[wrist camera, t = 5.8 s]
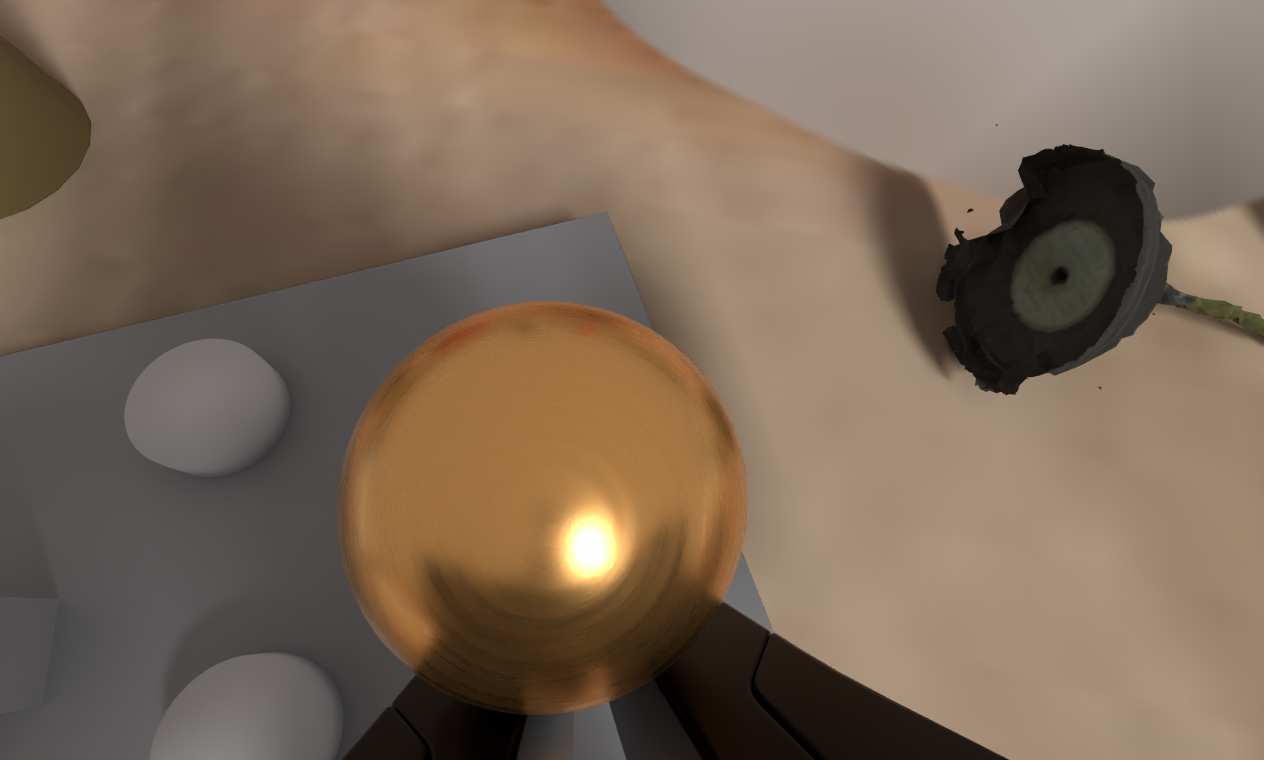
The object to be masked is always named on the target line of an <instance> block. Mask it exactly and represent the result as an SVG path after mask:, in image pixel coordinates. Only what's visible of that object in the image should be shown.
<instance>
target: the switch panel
mask: <svg viewBox="0 0 1264 760" xmlns="http://www.w3.org/2000/svg"><path fill="white" fill-rule="evenodd" d="M531 301H562V302H573V303H581V304H586V305H590V306H595V307H599V308H603V309H606V310H609V311H612V312H615V313H617V314H620V315H623V316H626V317H628V318H630V319H632V320H634V321H636V322H638V323H640V324H642V325H644V326H646V327H648V328H650V329H652V330H653V331H654V329H653V327H652V324H651V322H650V319H649V317H648V314H647V312H646V309H645V307H644V304H643V302H642V299H641V297H640V294H639V292H638V289H637V287H636V284H635V281H634V279H633V276H632V274H631V271H630V269H629V266H628V264H627V261H626V259H625V256H624V254H623V251H622V249H621V246H620V244H619V241H618V239H617V236H616V234H615V231H614V229H613V226H612V224H611V221H610V219H609V216H608V214H607V212H604V213H600V214H596V215H592V216H588V217H583V218H579V219H575V220H571V221H567V222H562V223H558V224H554V225H550V226H546V227H541V228H537V229H533V230H529V231H525V232H520V233H516V234H512V235H508V236H504V237H499V238H495V239H491V240H487V241H483V242H478V243H474V244H470V245H466V246H462V247H457V248H453V249H449V250H445V251H441V252H436V253H432V254H428V255H424V256H420V257H415V258H411V259H407V260H403V261H399V262H394V263H390V264H386V265H382V266H378V267H373V268H369V269H365V270H361V271H357V272H352V273H348V274H344V275H340V276H336V277H331V278H327V279H323V280H319V281H315V282H310V283H306V284H302V285H298V286H294V287H289V288H285V289H281V290H277V291H273V292H268V293H264V294H260V295H256V296H252V297H247V298H243V299H239V300H235V301H231V302H226V303H222V304H218V305H214V306H210V307H205V308H201V309H197V310H193V311H189V312H184V313H180V314H176V315H172V316H168V317H163V318H159V319H155V320H151V321H147V322H142V323H138V324H134V325H130V326H126V327H121V328H117V329H113V330H109V331H105V332H100V333H96V334H92V335H88V336H84V337H79V338H75V339H71V340H67V341H63V342H58V343H54V344H50V345H46V346H42V347H37V348H33V349H29V350H25V351H21V352H16V353H12V354H8V355H4V356H0V760H341V759H342V758H343V756H344V755H345V754H346V753H347V752H348V751H349V750H350V749H351V748H352V746H353V745H354V744H355V743H356V742H357V741H358V740H359V739H360V738H361V736H362V735H363V734H364V733H365V732H366V731H367V730H368V728H369V727H370V726H371V725H372V724H373V723H374V721H375V720H376V719H377V718H378V717H379V715H380V714H381V713H382V712H383V711H384V710H385V708H387V707H389V706H391V704H392V702H393V701H394V700H395V698H396V697H397V696H398V695H399V694H400V693H401V691H402V690H403V689H404V688H405V687H406V685H407V684H408V683H409V682H410V681H411V680H412V678H413V677H414V676H415V674H414V673H413V672H412V671H411V670H409V669H408V668H407V667H406V666H405V665H403V664H402V663H401V662H400V661H399V660H398V659H397V658H396V657H395V656H394V655H393V654H392V653H391V652H390V650H389V649H388V648H387V647H386V646H385V645H384V644H383V643H382V642H381V641H380V639H379V638H378V636H377V635H376V634H375V632H374V631H373V629H372V628H371V626H370V625H369V623H368V622H367V620H366V619H365V617H364V615H363V613H362V611H361V609H360V607H359V605H358V603H357V601H356V599H355V597H354V595H353V593H352V591H351V587H350V584H349V581H348V578H347V575H346V572H345V569H344V566H343V561H342V556H341V550H340V544H339V539H338V518H337V501H338V491H339V480H340V475H341V470H342V466H343V462H344V458H345V454H346V450H347V447H348V444H349V442H350V439H351V437H352V434H353V431H354V429H355V426H356V424H357V422H358V420H359V418H360V416H361V415H362V413H363V411H364V409H365V407H366V405H367V404H368V402H369V400H370V398H371V397H372V396H373V394H374V393H375V392H376V390H377V389H378V387H379V386H380V385H381V383H382V382H383V381H384V379H385V378H386V377H387V376H388V375H389V373H390V372H391V371H392V370H393V369H394V368H395V367H396V366H397V365H398V364H399V363H400V362H401V361H402V360H403V359H404V358H405V357H406V356H407V355H408V354H409V353H411V352H412V351H413V350H414V349H416V348H417V347H418V346H419V345H421V344H422V343H423V342H424V341H426V340H427V339H428V338H430V337H432V336H433V335H435V334H437V333H438V332H440V331H441V330H443V329H445V328H446V327H448V326H449V325H452V324H454V323H456V322H458V321H460V320H463V319H465V318H467V317H469V316H472V315H474V314H477V313H480V312H483V311H486V310H490V309H493V308H496V307H500V306H504V305H510V304H516V303H522V302H531ZM723 601H724V602H725V603H727V604H729V605H730V606H732V607H733V608H735V609H736V610H738V611H740V612H741V613H743V614H744V615H746V616H747V617H749V618H751V619H752V620H754V621H755V622H757V623H758V624H760V625H762V626H763V627H765V628H766V629H768V630H769V631H770V632H771V634H772V633H774V631H773V629H772V626H771V624H770V621H769V619H768V616H767V614H766V611H765V609H764V606H763V604H762V601H761V599H760V596H759V593H758V591H757V588H756V586H755V583H754V581H753V578H752V576H751V573H750V571H749V568H748V566H747V563H746V561H745V558H744V556H743V553H742V552H741V556H740V559H739V562H738V566H737V569H736V572H735V575H734V578H733V581H732V583H731V585H730V587H729V589H728V592H727V594H726V596H725V598H724V600H723ZM573 760H626V758H625V754H624V751H623V748H622V744H621V741H620V738H619V734H618V731H617V728H616V724H615V721H614V718H613V714H612V711H611V708H610V704H609V702H607V703H605V704H602V705H599V706H595V707H591V708H587V709H583V710H580V711H576V712H574V733H573Z"/></svg>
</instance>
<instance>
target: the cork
mask: <svg viewBox="0 0 1264 760" xmlns="http://www.w3.org/2000/svg"><path fill="white" fill-rule="evenodd" d="M90 126H91V122H90V120H89V117H88V115H87V113H86V111H85V109H84V106H83V104H82V102H80V101H79V100H78V99H77V98H76V97H75V96H73V95H72V94H71V93H70V92H69V91H67V90H66V89H65V88H64V87H63V86H62V85H60V84H59V83H58V82H57V81H55V80H54V79H53V78H52V77H51V76H49V75H48V74H47V73H46V72H45V71H43V70H42V69H41V68H40V67H38V66H37V65H36V64H35V63H34V62H32V61H31V60H30V59H29V58H28V57H26V56H25V55H24V54H23V53H21V52H20V51H19V50H18V49H17V48H15V47H14V46H13V45H12V44H11V43H9V42H8V41H7V40H6V39H4V38H3V37H2V36H1V35H0V219H1V218H4V217H6V216H9V215H12V214H15V213H17V212H20V211H23V210H25V209H28V208H30V207H31V206H33V205H34V204H36V203H37V202H39V201H41V200H42V199H44V198H45V197H47V196H48V195H50V194H52V193H53V192H55V191H56V190H58V189H59V188H60V186H61V185H62V184H63V183H64V182H65V181H66V180H67V179H68V178H69V177H70V176H71V175H72V174H73V173H74V172H75V171H76V170H77V169H78V167H79V165H80V163H81V161H82V159H83V157H84V155H85V153H86V151H87V149H88V147H89V145H90Z"/></svg>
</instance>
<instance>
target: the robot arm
mask: <svg viewBox="0 0 1264 760" xmlns="http://www.w3.org/2000/svg"><path fill="white" fill-rule="evenodd" d="M609 704H610V708H611V711H612V714H613V718H614V721H615V724H616V728H617V731H618V734H619V738H620V741H621V744H622V748H623V751H624V754H625V758H626V760H1009V759H1007V758H1005V757H1003V756H1001V755H999V754H997V753H995V752H993V751H991V750H989V749H987V748H985V747H983V746H981V745H979V744H977V743H975V742H973V741H971V740H969V739H967V738H965V737H963V736H961V735H959V734H958V733H956V732H954V731H952V730H950V729H948V728H946V727H944V726H942V725H940V724H938V723H936V722H934V721H932V720H930V719H928V718H926V717H924V716H922V715H920V714H918V713H916V712H914V711H912V710H910V709H908V708H906V707H904V706H902V705H900V704H899V703H897V702H895V701H893V700H891V699H889V698H887V697H885V696H883V695H881V694H879V693H878V692H876V691H874V690H872V689H870V688H868V687H866V686H864V685H863V684H861V683H859V682H857V681H855V680H853V679H851V678H849V677H848V676H846V675H844V674H842V673H840V672H838V671H837V670H835V669H833V668H832V667H830V666H828V665H827V664H825V663H823V662H822V661H820V660H818V659H817V658H815V657H813V656H811V655H810V654H808V653H806V652H805V651H803V650H801V649H800V648H798V647H797V646H795V645H793V644H792V643H790V642H789V641H787V640H786V639H784V638H782V637H781V636H779V635H778V634H776V633H772V634H771V632H770V631H769V630H768V629H766V628H765V627H763V626H762V625H760V624H758V623H757V622H755V621H754V620H752V619H751V618H749V617H747V616H746V615H744V614H743V613H741V612H740V611H738V610H736V609H735V608H733V607H732V606H730V605H729V604H727V603H725V602H724V601H723V603H722V604H721V606H720V607H719V609H718V611H717V612H716V614H715V616H714V617H713V619H712V621H711V622H710V624H709V625H708V627H707V628H706V629H705V630H704V632H703V633H702V634H701V635H700V637H699V638H698V639H697V640H696V642H695V643H694V644H693V645H692V646H691V647H690V648H689V649H688V650H687V651H686V652H685V653H684V654H683V655H682V656H681V657H680V658H679V659H678V660H677V661H676V662H675V663H674V664H673V665H672V666H670V667H669V668H668V669H666V670H665V671H664V672H662V673H661V674H660V675H658V676H657V677H656V678H654V679H653V680H652V681H650V682H648V683H646V684H645V685H643V686H641V687H639V688H638V689H636V690H634V691H632V692H631V693H629V694H627V695H624V696H622V697H619V698H617V699H615V700H612V701H610V702H609ZM573 733H574V712H568V713H560V714H552V715H520V714H513V713H506V712H499V711H493V710H490V709H486V708H482V707H479V706H475V705H472V704H468V703H466V702H464V701H461V700H459V699H457V698H455V697H452V696H450V695H448V694H446V693H443V692H442V691H440V690H438V689H437V688H435V687H434V686H432V685H430V684H429V683H427V682H425V681H424V680H422V679H421V678H419V677H418V676H417V675H415V676H414V677H413V678H412V680H411V681H410V682H409V683H408V684H407V685H406V687H405V688H404V689H403V690H402V691H401V693H400V694H399V695H398V696H397V697H396V698H395V700H394V701H393V702H392V704H391V706H389V707H387V708H385V710H384V711H383V712H382V713H381V714H380V715H379V717H378V718H377V719H376V720H375V721H374V723H373V724H372V725H371V726H370V727H369V728H368V730H367V731H366V732H365V733H364V734H363V735H362V736H361V738H360V739H359V740H358V741H357V742H356V743H355V744H354V745H353V746H352V748H351V749H350V750H349V751H348V752H347V753H346V754H345V755H344V756H343V758H342V759H341V760H573Z"/></svg>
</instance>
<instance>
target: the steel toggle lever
mask: <svg viewBox="0 0 1264 760" xmlns="http://www.w3.org/2000/svg"><path fill="white" fill-rule="evenodd" d="M746 517H747V486H746V473H745V468H744V463H743V458H742V453H741V448H740V445H739V442H738V439H737V436H736V433H735V430H734V427H733V424H732V422H731V420H730V418H729V416H728V414H727V412H726V410H725V408H724V406H723V404H722V402H721V400H720V398H719V397H718V395H717V394H716V392H715V391H714V389H713V388H712V386H711V385H710V383H709V382H708V380H707V379H706V378H705V377H704V375H703V374H702V373H701V372H700V371H699V370H698V368H697V367H696V366H695V365H694V364H693V363H692V361H691V360H690V359H689V358H687V357H686V356H685V355H684V354H683V353H682V352H681V351H680V350H679V349H677V348H676V347H675V346H674V345H673V344H672V343H670V342H669V341H667V340H666V339H665V338H663V337H662V336H660V335H659V334H657V333H656V332H654V331H653V330H652V329H650V328H648V327H646V326H644V325H642V324H640V323H638V322H636V321H634V320H632V319H630V318H628V317H626V316H623V315H620V314H617V313H615V312H612V311H609V310H606V309H603V308H599V307H595V306H590V305H586V304H581V303H573V302H562V301H531V302H522V303H516V304H510V305H504V306H500V307H496V308H493V309H490V310H486V311H483V312H480V313H477V314H474V315H472V316H469V317H467V318H465V319H463V320H460V321H458V322H456V323H454V324H452V325H449V326H448V327H446V328H445V329H443V330H441V331H440V332H438V333H437V334H435V335H433V336H432V337H430V338H428V339H427V340H426V341H424V342H423V343H422V344H421V345H419V346H418V347H417V348H416V349H414V350H413V351H412V352H411V353H409V354H408V355H407V356H406V357H405V358H404V359H403V360H402V361H401V362H400V363H399V364H398V365H397V366H396V367H395V368H394V369H393V370H392V371H391V372H390V373H389V375H388V376H387V377H386V378H385V379H384V381H383V382H382V383H381V385H380V386H379V387H378V389H377V390H376V392H375V393H374V394H373V396H372V397H371V398H370V400H369V402H368V404H367V405H366V407H365V409H364V411H363V413H362V415H361V416H360V418H359V420H358V422H357V424H356V426H355V429H354V431H353V434H352V437H351V439H350V442H349V444H348V447H347V450H346V454H345V458H344V462H343V466H342V470H341V475H340V480H339V491H338V501H337V518H338V539H339V544H340V550H341V556H342V561H343V566H344V569H345V572H346V575H347V578H348V581H349V584H350V587H351V591H352V593H353V595H354V597H355V599H356V601H357V603H358V605H359V607H360V609H361V611H362V613H363V615H364V617H365V619H366V620H367V622H368V623H369V625H370V626H371V628H372V629H373V631H374V632H375V634H376V635H377V636H378V638H379V639H380V641H381V642H382V643H383V644H384V645H385V646H386V647H387V648H388V649H389V650H390V652H391V653H392V654H393V655H394V656H395V657H396V658H397V659H398V660H399V661H400V662H401V663H402V664H403V665H405V666H406V667H407V668H408V669H409V670H411V671H412V672H413V673H414V674H415V675H417V676H418V677H419V678H421V679H422V680H424V681H425V682H427V683H429V684H430V685H432V686H434V687H435V688H437V689H438V690H440V691H442V692H443V693H446V694H448V695H450V696H452V697H455V698H457V699H459V700H461V701H464V702H466V703H468V704H472V705H475V706H479V707H482V708H486V709H490V710H493V711H499V712H506V713H513V714H520V715H552V714H560V713H568V712H576V711H580V710H583V709H587V708H591V707H595V706H599V705H602V704H605V703H607V702H610V701H612V700H615V699H617V698H619V697H622V696H624V695H627V694H629V693H631V692H632V691H634V690H636V689H638V688H639V687H641V686H643V685H645V684H646V683H648V682H650V681H652V680H653V679H654V678H656V677H657V676H658V675H660V674H661V673H662V672H664V671H665V670H666V669H668V668H669V667H670V666H672V665H673V664H674V663H675V662H676V661H677V660H678V659H679V658H680V657H681V656H682V655H683V654H684V653H685V652H686V651H687V650H688V649H689V648H690V647H691V646H692V645H693V644H694V643H695V642H696V640H697V639H698V638H699V637H700V635H701V634H702V633H703V632H704V630H705V629H706V628H707V627H708V625H709V624H710V622H711V621H712V619H713V617H714V616H715V614H716V612H717V611H718V609H719V607H720V606H721V604H722V603H723V600H724V598H725V596H726V594H727V592H728V589H729V587H730V585H731V583H732V581H733V578H734V575H735V572H736V569H737V566H738V562H739V559H740V556H741V552H742V547H743V541H744V535H745V530H746Z"/></svg>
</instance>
